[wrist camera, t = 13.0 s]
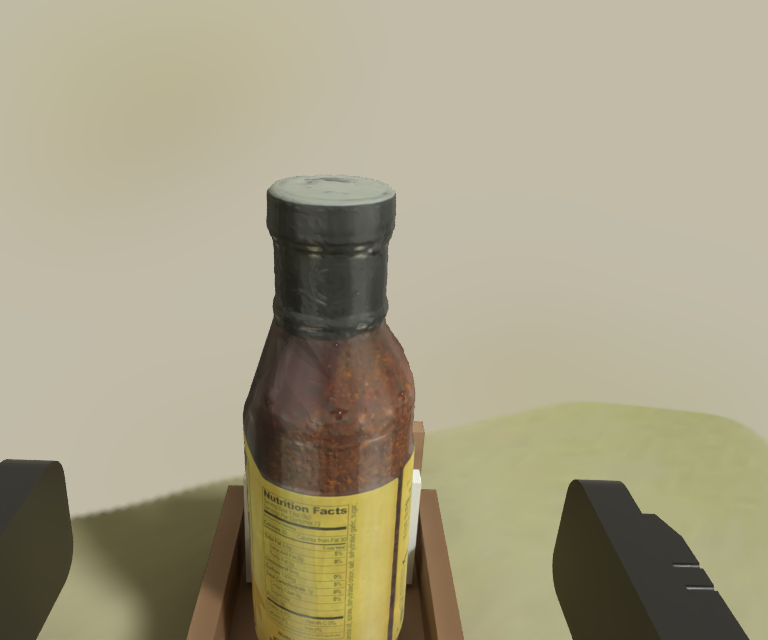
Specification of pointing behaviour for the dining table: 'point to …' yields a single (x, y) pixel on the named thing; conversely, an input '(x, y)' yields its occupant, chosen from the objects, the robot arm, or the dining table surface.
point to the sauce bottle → (330, 421)
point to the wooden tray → (235, 596)
